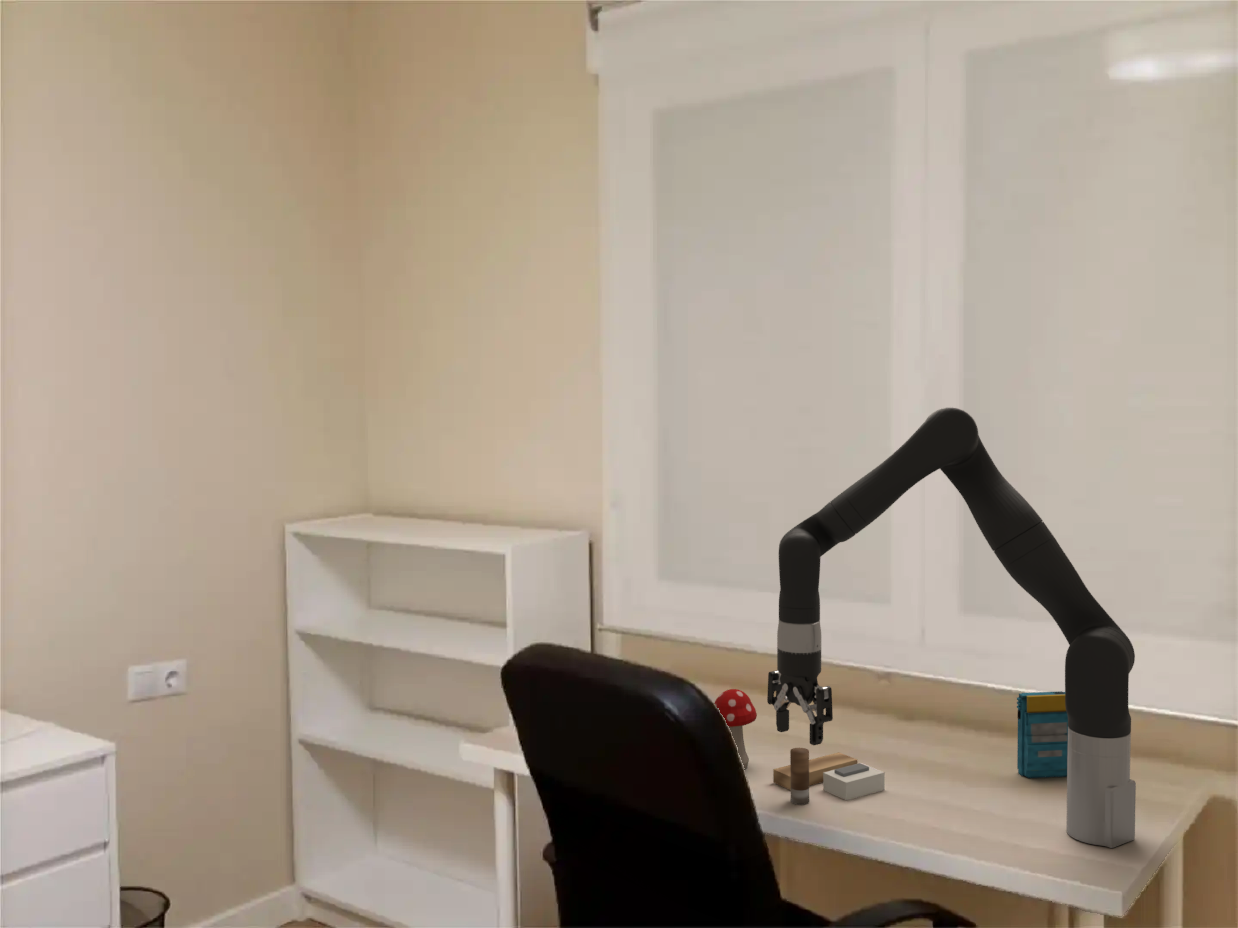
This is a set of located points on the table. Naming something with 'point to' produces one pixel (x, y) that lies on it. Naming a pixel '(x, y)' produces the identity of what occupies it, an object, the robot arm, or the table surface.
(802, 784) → the brown cylinder
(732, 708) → the decorative mushroom
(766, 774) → the table surface
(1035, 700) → the handheld gaming console
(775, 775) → the batten
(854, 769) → the block
